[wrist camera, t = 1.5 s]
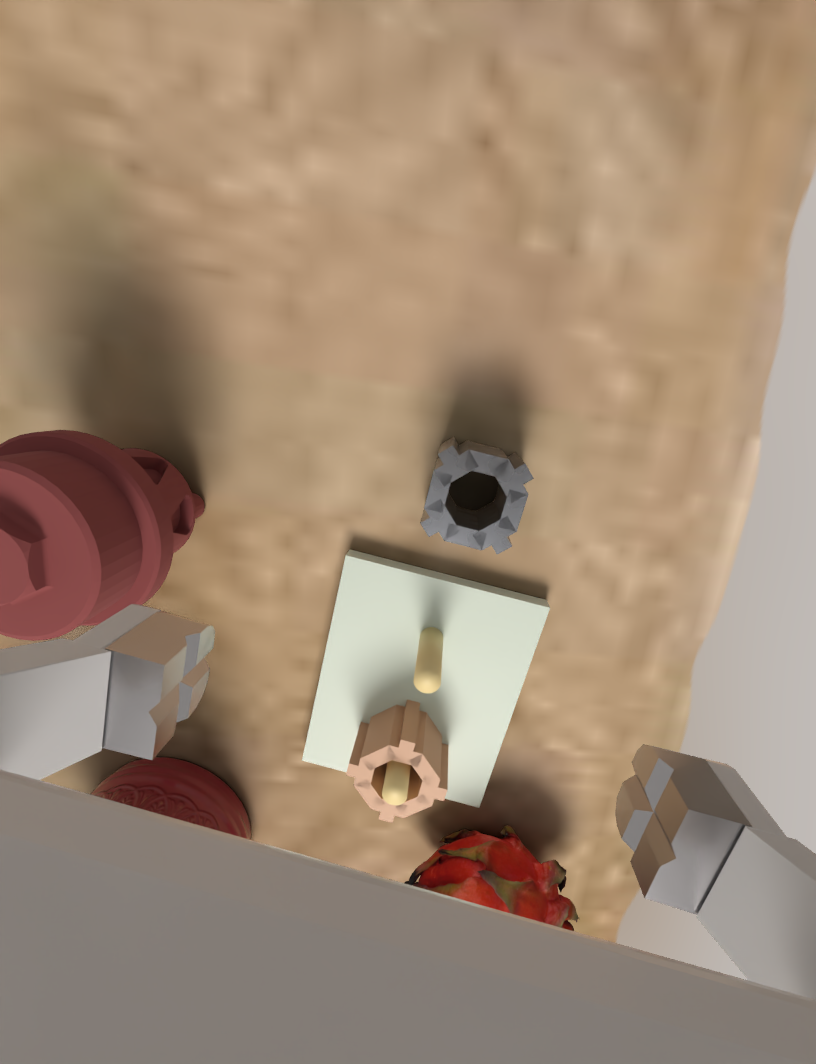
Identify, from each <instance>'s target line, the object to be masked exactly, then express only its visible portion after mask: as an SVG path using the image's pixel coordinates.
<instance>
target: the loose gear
mask: <svg viewBox="0 0 816 1064" xmlns="http://www.w3.org/2000/svg"><path fill="white" fill-rule="evenodd" d="M438 456H439V457H438V458H437V460H436V464H435V468H434V472H433V476H432V480H431V484H430V487H429V491H428V495H427V499H426V503H425V507H424V511H423V514H422V518H421V522H420V523H421V525H422V527H423V528H424V530H425V531H426V533H427V535H428V536H429V537H430V536H432V535H433V534H435V533H437V532H439V533H440V535H441V536H442V538H443V540H444V541H447V542H451V543H455V544H459V545H463V546H467V547H471V548H475V549H478V550H483V549H485V548H487V547H489V546H491V545H492V547H493V549H494V550H495V552H496V554H499V553H501V552H503V551H504V550H506V549H508V548H510V547H512V545H511V542H510V539H509V535H511V534H513V533H515V532H517V529H518V525H519V522H520V519H521V516H522V513H523V510H524V507H525V503H526V500H527V497H528V493H527V491H526V489H525V487H524V485H523V484H525V483H527V482H528V481H530V480H532V479H534V478H533V477H532V475H531V473H530V471H529V469H528V468H527V466H526V464H525V463H524V462H523V460H522V459H521V458H520V457H519V456H518V455H517V454H516V453H513V454H511V455H509V456H508V457H507V456H506V455H505V453H504V452H503V450H502V449H500V448H496V447H492V446H488V445H484V444H480V443H476V442H472V441H468V440H467V441H465V442H464V443H462V444H460V445H458V443H457V442H456V440H455V438H454V437H452V438H451V439H449V440H447V441H446V442H444V443H442V444H441V445H440V448H439V452H438ZM470 471H475V472H479V473H483V474H487V475H491V476H495V477H496V479H497V480H498V482H499V486H498V489H497V493H496V496H495V500H494V501H493V502H491V503H489V504H487V505H486V506H484V507H482V508H480V509H479V510H477V511H475V510H471V509H467V508H463V507H459V506H456V504H455V502H454V501H453V499H452V497H451V496H450V494H449V492H448V491H449V487H450V483H451V482H453V481H455V480H456V479H458V478H460V477H461V476H463V475H465V474H467V473H468V472H470Z"/></svg>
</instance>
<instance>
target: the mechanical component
mask: <svg viewBox="0 0 816 1064" xmlns="http://www.w3.org/2000/svg"><path fill="white" fill-rule="evenodd" d="M204 508H205V506H204V502H203V500H202V498H201V497H200V496H198V495H197V494H195V493H192V492H191V490H190V488H189V485H188V483H187V482H186V480H185V479H184V477H183V476H182V474H181V473H180V472H179V471H178V470H177V469H176V467H174V466H173V465H172V464H171V463H170V462H169V461H167V460H166V459H164V458H163V457H161V456H159V455H157V454H155V453H153V452H150V451H147V450H142V449H137V448H126V449H119V448H118V447H117V446H115V445H113V444H111V443H109V442H107V441H105V440H103V439H101V438H99V437H96V436H93V435H90V434H87V433H82V432H78V431H69V430H55V431H44V432H34V433H29V434H24V435H20V436H17V437H14V438H12V439H9V440H7V441H5V442H4V443H2V444H0V634H2V635H5V636H8V637H12V638H16V639H22V640H33V641H34V640H47V639H51V638H55V637H59V636H61V635H64V634H66V633H68V632H70V631H72V630H73V629H75V628H76V627H78V626H80V625H98V624H100V623H102V622H103V621H105V620H106V619H108V618H110V617H111V616H113V615H115V614H116V613H118V612H119V611H121V610H123V609H124V608H126V607H127V606H129V605H131V604H139V605H142V604H144V603H145V602H146V601H147V600H149V599H150V598H151V597H152V596H153V595H154V594H155V593H156V592H157V591H158V589H159V588H160V587H161V585H162V584H163V582H164V580H165V579H166V576H167V574H168V571H169V569H170V566H171V562H172V557H173V553H174V552H176V551H177V550H179V549H180V548H181V547H182V546H183V545H184V544H185V543H186V541H187V540H188V539H189V537H190V535H191V533H192V531H193V527H194V523H195V518H197V517H199V516H201V515H202V514H203V512H204Z"/></svg>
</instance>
